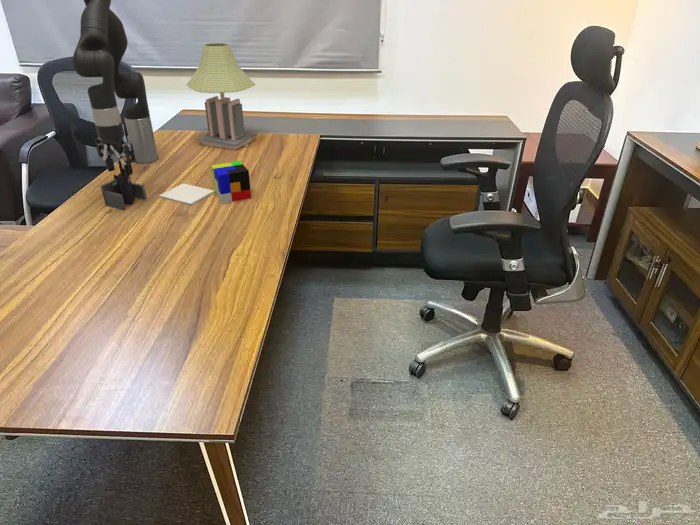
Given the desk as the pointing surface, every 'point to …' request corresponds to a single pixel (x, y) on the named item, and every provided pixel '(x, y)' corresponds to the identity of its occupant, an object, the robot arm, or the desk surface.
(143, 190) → the dock
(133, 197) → the two-way radio
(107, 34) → the robot arm
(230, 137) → the desk lamp
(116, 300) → the desk surface
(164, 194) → the mat
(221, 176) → the puzzle toy
